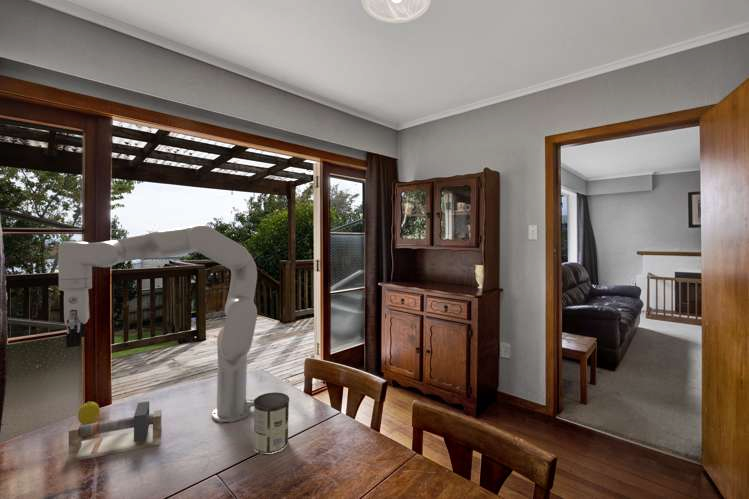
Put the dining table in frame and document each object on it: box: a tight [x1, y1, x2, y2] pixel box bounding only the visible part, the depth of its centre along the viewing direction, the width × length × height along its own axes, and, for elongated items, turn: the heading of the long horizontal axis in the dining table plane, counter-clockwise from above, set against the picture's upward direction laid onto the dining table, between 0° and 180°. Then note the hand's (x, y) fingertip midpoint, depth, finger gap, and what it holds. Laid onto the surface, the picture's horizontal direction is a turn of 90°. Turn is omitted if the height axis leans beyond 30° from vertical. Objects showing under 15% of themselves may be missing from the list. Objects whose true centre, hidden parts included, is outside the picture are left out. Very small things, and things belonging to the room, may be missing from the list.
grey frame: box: [133, 401, 150, 442], centre depth 111 cm, size 3×9×8 cm, turn 26°
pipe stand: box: [65, 409, 163, 463], centre depth 108 cm, size 22×9×8 cm, turn 116°
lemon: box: [77, 401, 101, 425], centre depth 118 cm, size 6×6×8 cm
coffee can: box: [253, 391, 290, 453], centre depth 111 cm, size 10×10×14 cm
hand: (76, 341), depth 108 cm, fingers open, 9 cm apart
